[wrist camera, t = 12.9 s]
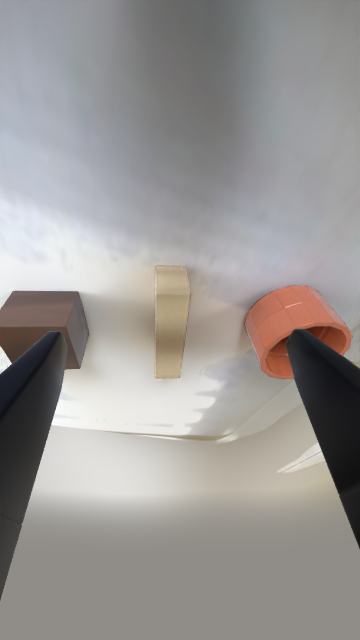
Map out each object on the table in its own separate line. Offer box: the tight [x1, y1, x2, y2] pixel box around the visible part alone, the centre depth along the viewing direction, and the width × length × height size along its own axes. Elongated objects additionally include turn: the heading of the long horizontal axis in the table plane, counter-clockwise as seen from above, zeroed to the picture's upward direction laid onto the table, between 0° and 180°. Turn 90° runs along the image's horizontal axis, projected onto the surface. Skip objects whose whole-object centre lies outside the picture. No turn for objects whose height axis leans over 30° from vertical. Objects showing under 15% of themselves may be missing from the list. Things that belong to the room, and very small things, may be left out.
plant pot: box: [245, 286, 352, 379], centre depth 24 cm, size 8×8×6 cm
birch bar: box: [155, 266, 191, 379], centre depth 23 cm, size 11×3×4 cm, turn 176°
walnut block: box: [0, 291, 89, 369], centre depth 22 cm, size 6×6×4 cm
